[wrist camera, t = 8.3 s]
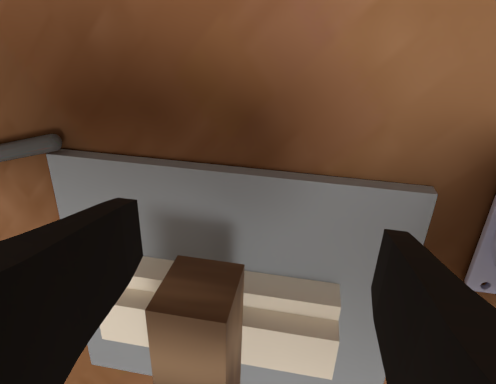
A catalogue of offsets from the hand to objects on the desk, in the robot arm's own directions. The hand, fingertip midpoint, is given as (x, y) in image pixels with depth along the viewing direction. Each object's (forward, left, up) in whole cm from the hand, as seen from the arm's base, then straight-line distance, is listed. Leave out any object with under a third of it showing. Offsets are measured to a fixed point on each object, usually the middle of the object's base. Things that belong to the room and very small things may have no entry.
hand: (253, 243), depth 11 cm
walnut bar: (+3, +11, -6) cm, 13 cm away
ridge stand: (+3, +11, -10) cm, 15 cm away
